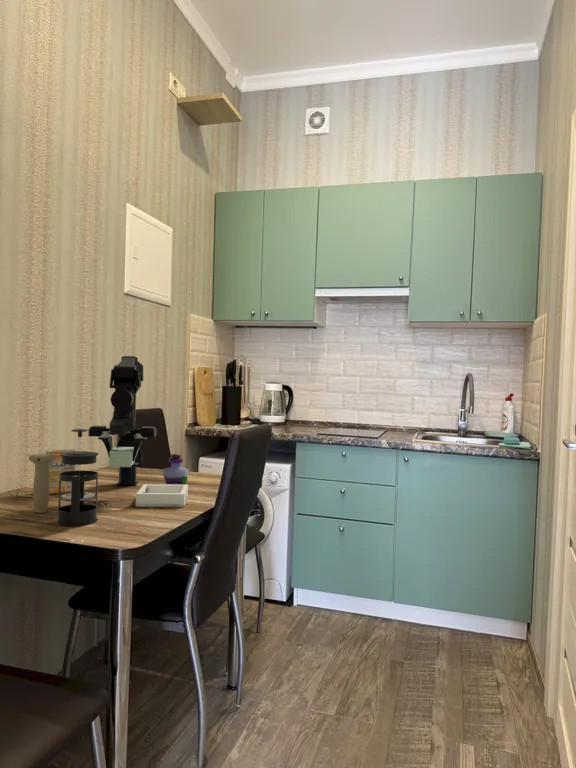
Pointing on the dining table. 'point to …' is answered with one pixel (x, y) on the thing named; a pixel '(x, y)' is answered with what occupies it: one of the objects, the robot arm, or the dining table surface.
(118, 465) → the green box with knobs
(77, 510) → the french press
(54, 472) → the supplement box
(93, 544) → the dining table surface
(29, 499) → the dining table surface
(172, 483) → the potion bottle
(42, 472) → the handle
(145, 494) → the cabinet carcass
